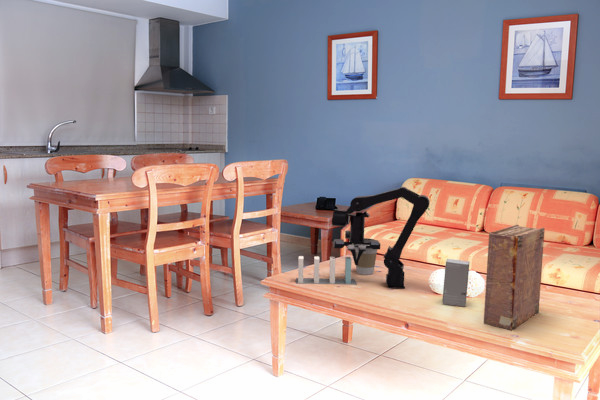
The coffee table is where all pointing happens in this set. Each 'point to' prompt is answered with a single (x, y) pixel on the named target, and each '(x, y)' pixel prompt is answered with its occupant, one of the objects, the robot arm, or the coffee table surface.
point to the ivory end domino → (300, 269)
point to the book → (513, 276)
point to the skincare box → (455, 282)
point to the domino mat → (325, 281)
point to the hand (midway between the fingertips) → (355, 264)
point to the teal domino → (347, 270)
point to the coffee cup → (366, 260)
